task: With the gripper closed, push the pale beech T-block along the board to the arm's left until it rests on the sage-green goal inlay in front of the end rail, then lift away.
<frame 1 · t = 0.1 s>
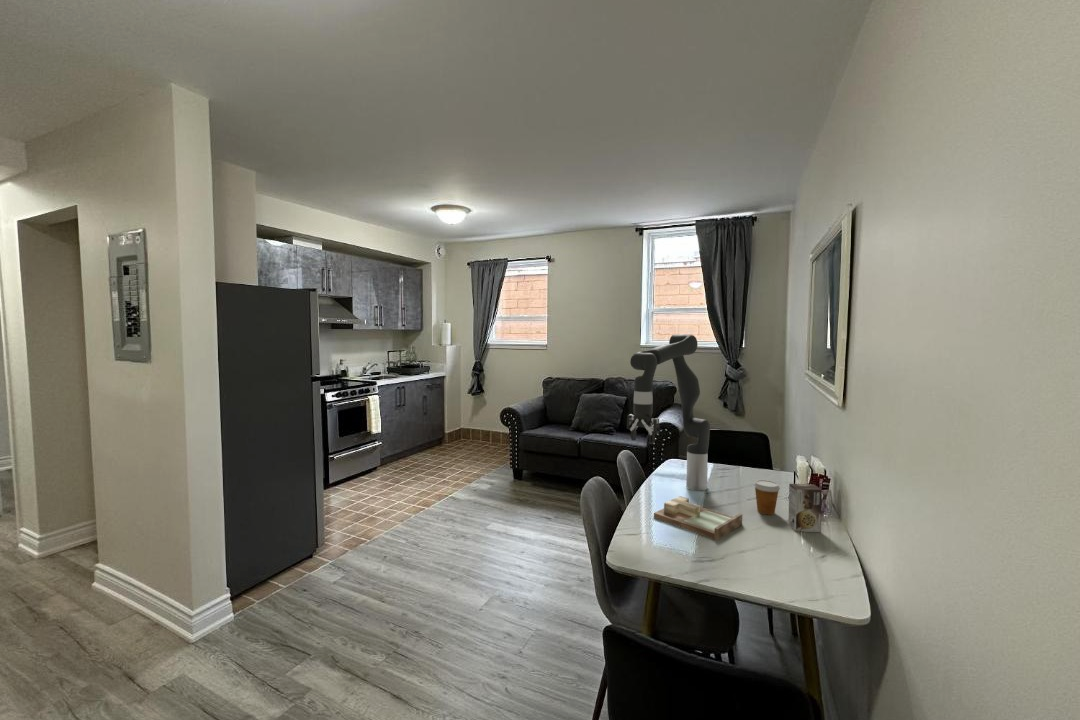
hand: (642, 441, 181), 29 cm above the table, fingers open, 8 cm apart
t block: (676, 509, 180), point 2 cm above the table, touching board
cracker box: (804, 529, 167), on the table
board: (697, 521, 174), on the table
disposable coffee cup: (765, 512, 183), on the table
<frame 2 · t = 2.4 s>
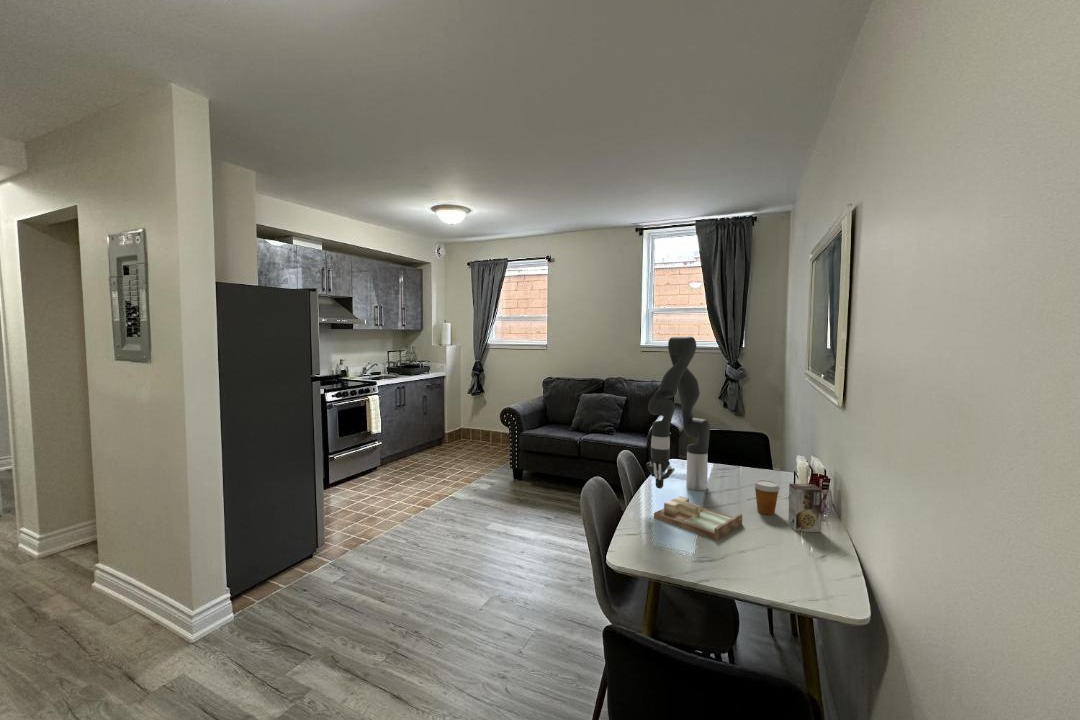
hand: (659, 487, 186), 9 cm above the table, fingers closed
nothing on the table moved.
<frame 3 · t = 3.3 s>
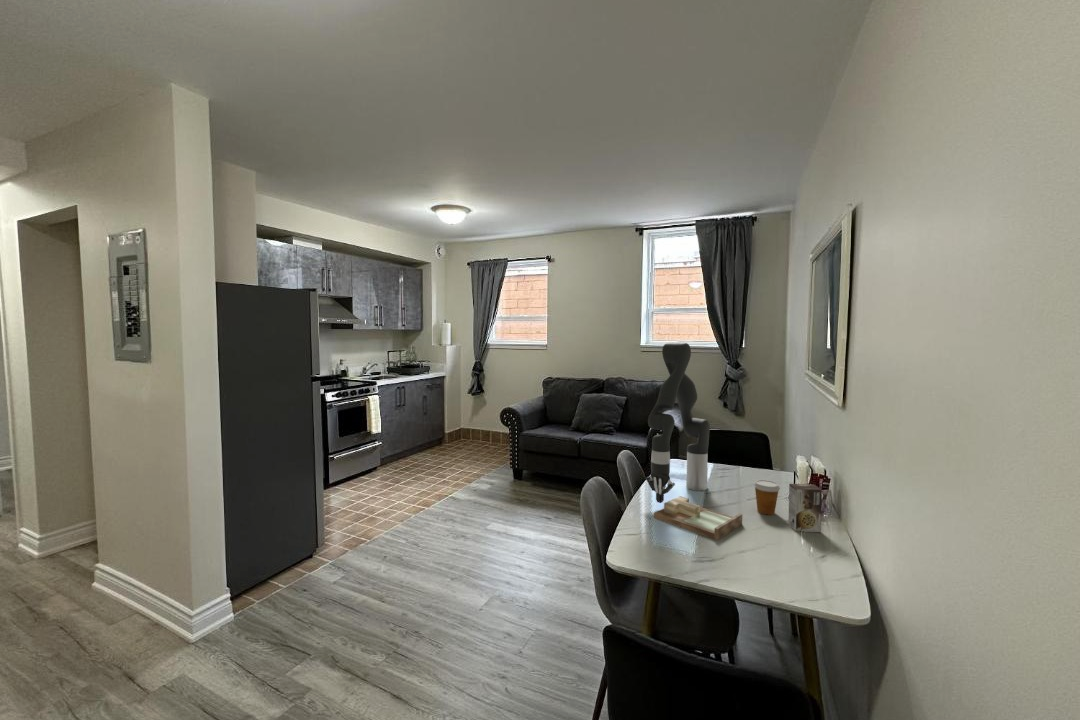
hand: (659, 502, 186), 3 cm above the table, fingers closed
nothing on the table moved.
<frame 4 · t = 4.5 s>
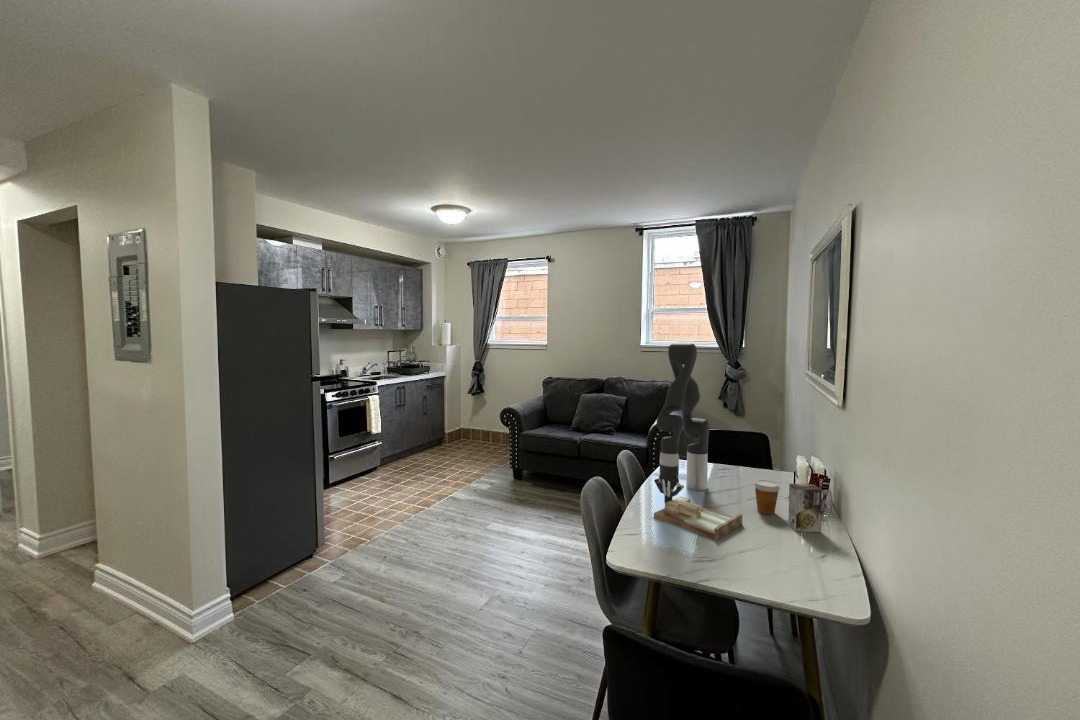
hand: (668, 504, 183), 3 cm above the table, fingers closed
t block: (677, 509, 180), point 2 cm above the table, touching board, gripper
everything else where it was.
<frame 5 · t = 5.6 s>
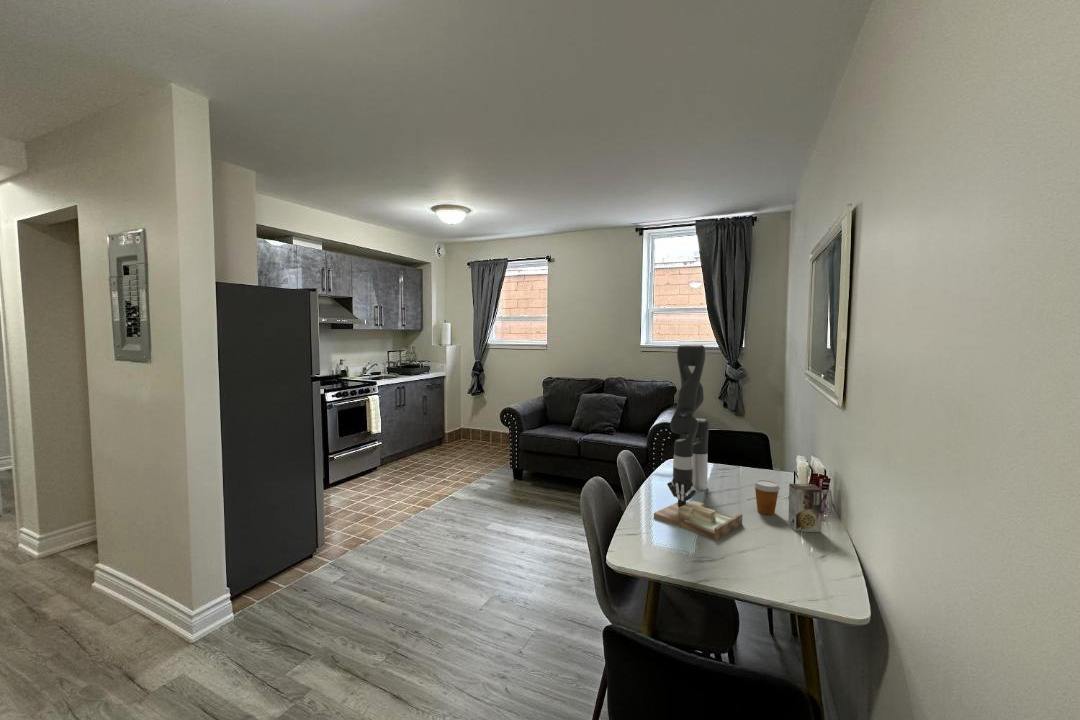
hand: (681, 508, 178), 3 cm above the table, fingers closed
t block: (691, 514, 175), point 2 cm above the table, touching board, gripper
everything else where it was.
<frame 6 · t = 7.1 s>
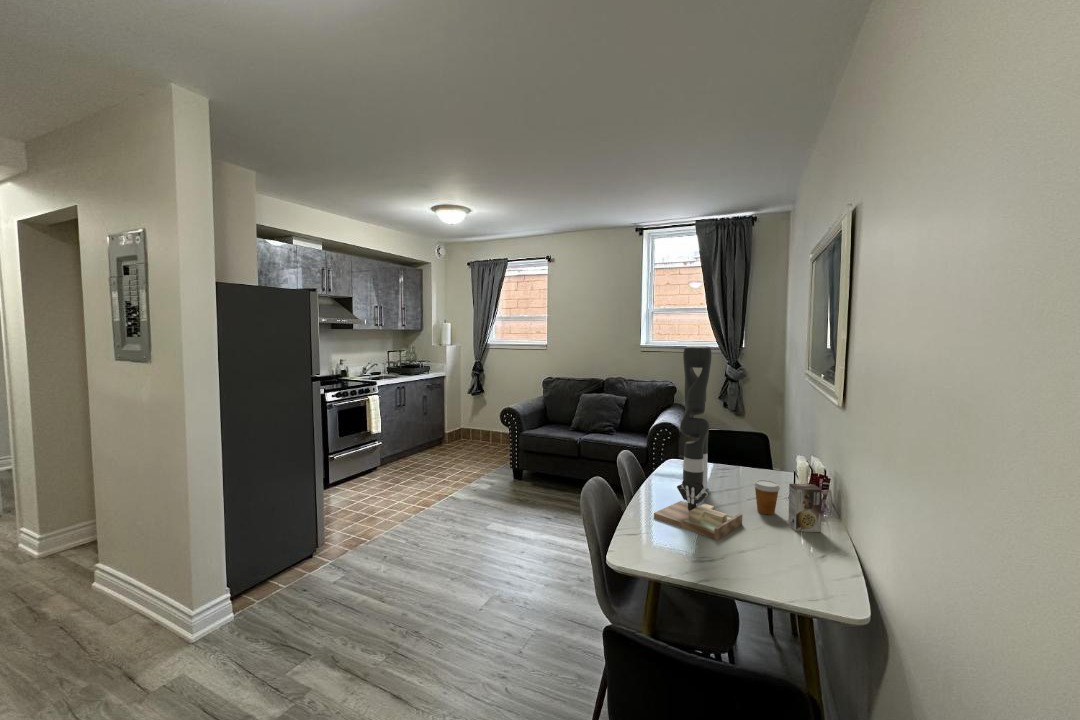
hand: (691, 512, 175), 3 cm above the table, fingers closed
t block: (701, 517, 172), point 2 cm above the table, touching board, gripper
everything else where it was.
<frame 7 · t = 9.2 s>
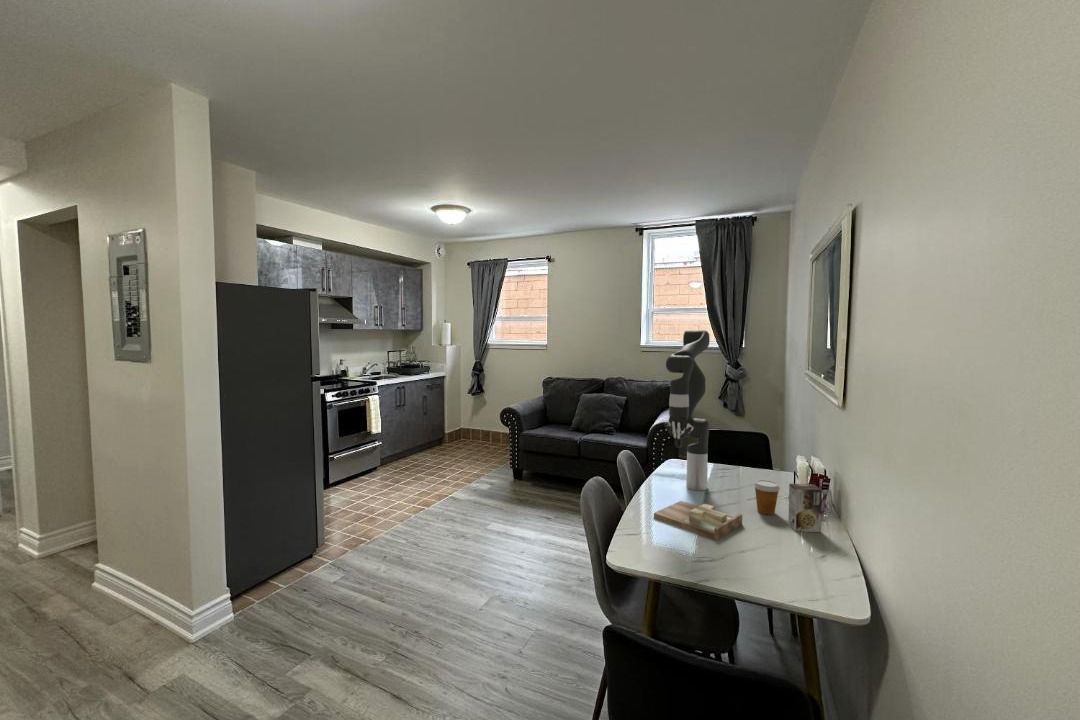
hand: (678, 447, 181), 27 cm above the table, fingers closed
t block: (701, 517, 172), point 2 cm above the table, touching board
everything else where it was.
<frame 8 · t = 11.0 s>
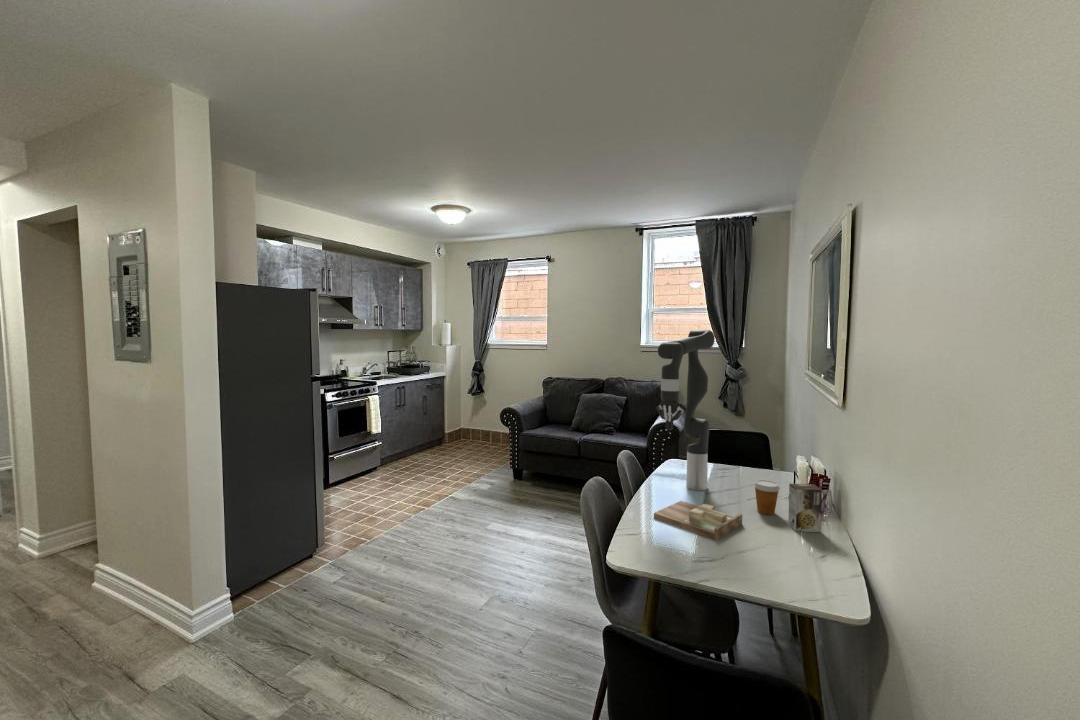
hand: (669, 429, 191), 32 cm above the table, fingers closed
nothing on the table moved.
at the end: t block 0.2 cm from the target spot on the board, point 2.0 cm above the board's base; t block moved 10.9 cm from its start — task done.
